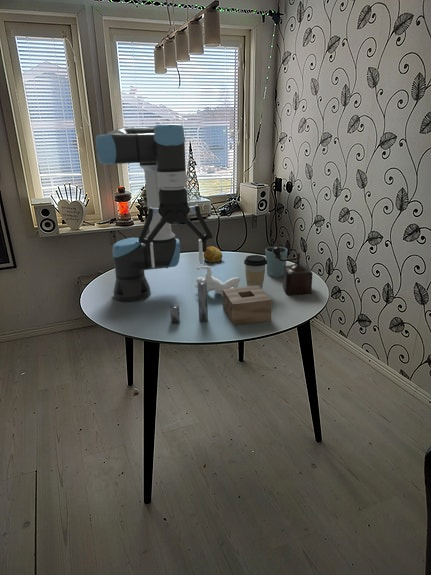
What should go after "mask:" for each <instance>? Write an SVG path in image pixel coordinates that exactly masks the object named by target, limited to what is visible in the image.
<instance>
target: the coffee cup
mask: <svg viewBox="0 0 431 575" xmlns="http://www.w3.org/2000/svg"><path fill="white" fill-rule="evenodd" d="M243 263H244V266H245V267H244V268H245V269H244V270H245V280H246V285H247V286H256V285H258V286H259V287H260V288H261V289H262V290H263V285H264V282H265V281H264V280H265V273H266V266H267V260H266V256H265V255H261V254H251V255H247V256H246V257H245V259H244V262H243ZM247 286H246V287H247Z"/></svg>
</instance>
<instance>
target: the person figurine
mask: <svg viewBox="0 0 431 575" xmlns="http://www.w3.org/2000/svg"><path fill="white" fill-rule="evenodd" d="M201 269H204V270H206V274H205V277H202V276H199V277H197V278H196V283H195V284H194V287H195V288H196V289H198V283H199V282H206V283H207V294H209V292H212V291H214V292H215V293H216V294H218V295H219V294H220V295H222V296H223V289H230V288H239V284H240V281H241V279H240V278H241V277H239V276H236V277H231V278H230V279H227V280H226V281H224V282H223V281H221V280H220V279H218V278H216V277H214V276H212V274H213V271H212V269H211V266H209V265H203V266H197V267H196V270H197V271H199V270H201Z"/></svg>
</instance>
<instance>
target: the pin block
mask: <svg viewBox="0 0 431 575" xmlns="http://www.w3.org/2000/svg"><path fill="white" fill-rule="evenodd" d="M272 304H273V301H272V298H271V297H270V296H269V295H268V294H267V293H266V292H265V290H263V288H262V289H261V288H260V287H259V286H258V285H256V286H238V287H237V288H232V287H231V288H229V289H223V295H222V310H223V311H224V313H225V314H226V316H227V318H228V319H229V321H230V322H231V324H232V326H236V325H237V326H238V325H246V324H252V323H253V324H254V323H259V322H269V321H271V320H272Z"/></svg>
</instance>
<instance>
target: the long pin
mask: <svg viewBox="0 0 431 575" xmlns="http://www.w3.org/2000/svg"><path fill="white" fill-rule="evenodd" d="M197 285H198V288H197V301H198V321H199V322H201V323H205V322H208V321H209V314H208V313H209V310H208V309H209V308H208V306H209V305H208V293H207V283H206V282H199V283H197Z"/></svg>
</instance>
